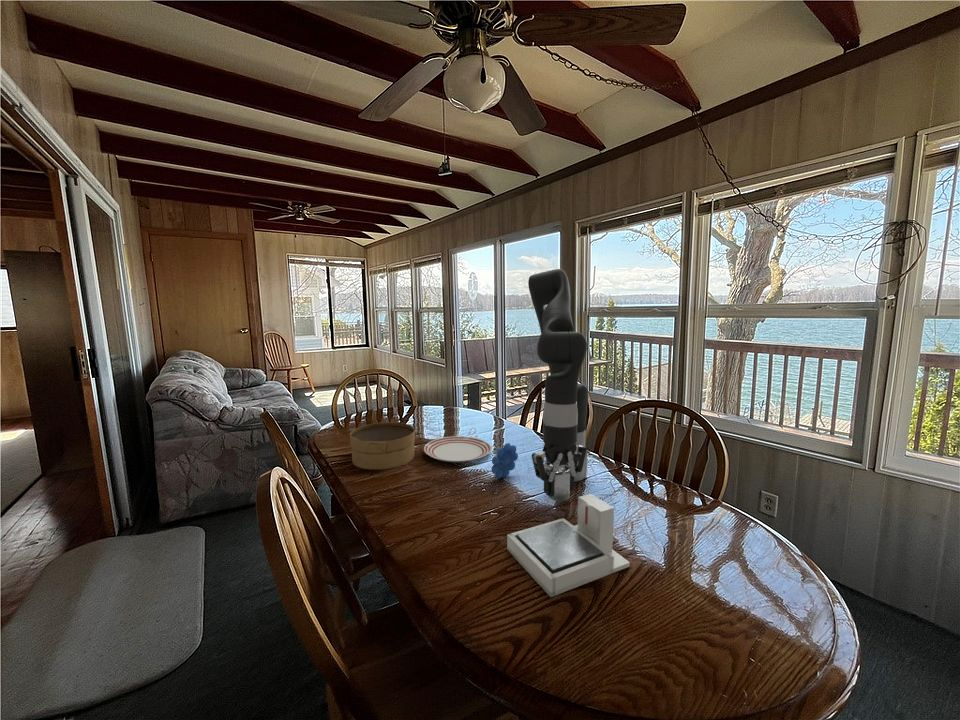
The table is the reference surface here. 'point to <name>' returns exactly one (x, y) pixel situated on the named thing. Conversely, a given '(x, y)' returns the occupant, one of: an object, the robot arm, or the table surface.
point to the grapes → (504, 460)
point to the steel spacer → (561, 485)
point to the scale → (594, 528)
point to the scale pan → (558, 546)
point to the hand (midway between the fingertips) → (558, 492)
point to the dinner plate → (457, 449)
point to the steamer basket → (382, 445)
